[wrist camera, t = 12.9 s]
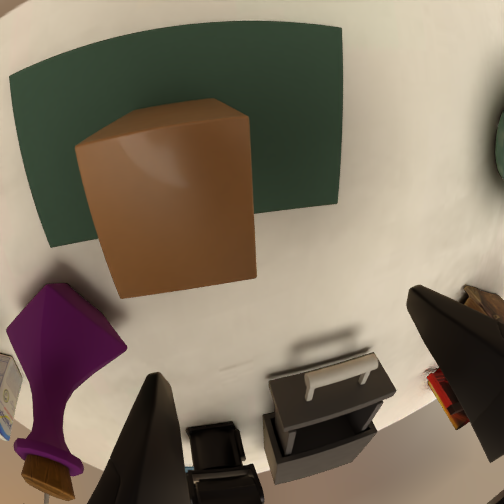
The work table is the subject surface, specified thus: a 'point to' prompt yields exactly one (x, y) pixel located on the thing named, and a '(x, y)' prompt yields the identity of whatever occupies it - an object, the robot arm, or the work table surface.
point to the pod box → (172, 197)
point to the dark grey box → (310, 454)
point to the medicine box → (8, 394)
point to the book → (485, 303)
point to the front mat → (186, 89)
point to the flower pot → (500, 146)
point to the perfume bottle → (57, 377)
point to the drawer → (328, 403)
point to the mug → (447, 399)
